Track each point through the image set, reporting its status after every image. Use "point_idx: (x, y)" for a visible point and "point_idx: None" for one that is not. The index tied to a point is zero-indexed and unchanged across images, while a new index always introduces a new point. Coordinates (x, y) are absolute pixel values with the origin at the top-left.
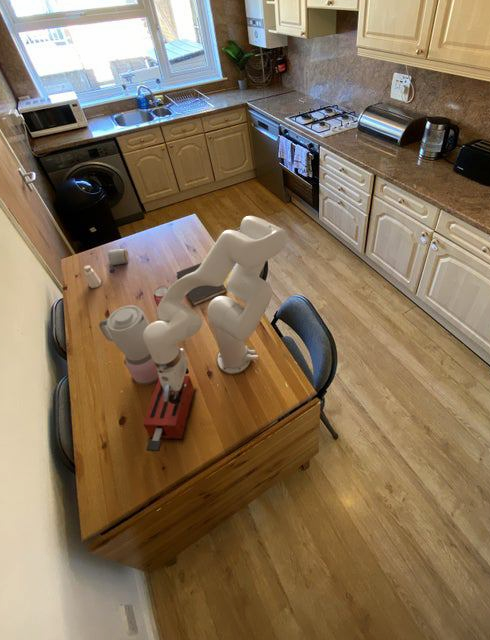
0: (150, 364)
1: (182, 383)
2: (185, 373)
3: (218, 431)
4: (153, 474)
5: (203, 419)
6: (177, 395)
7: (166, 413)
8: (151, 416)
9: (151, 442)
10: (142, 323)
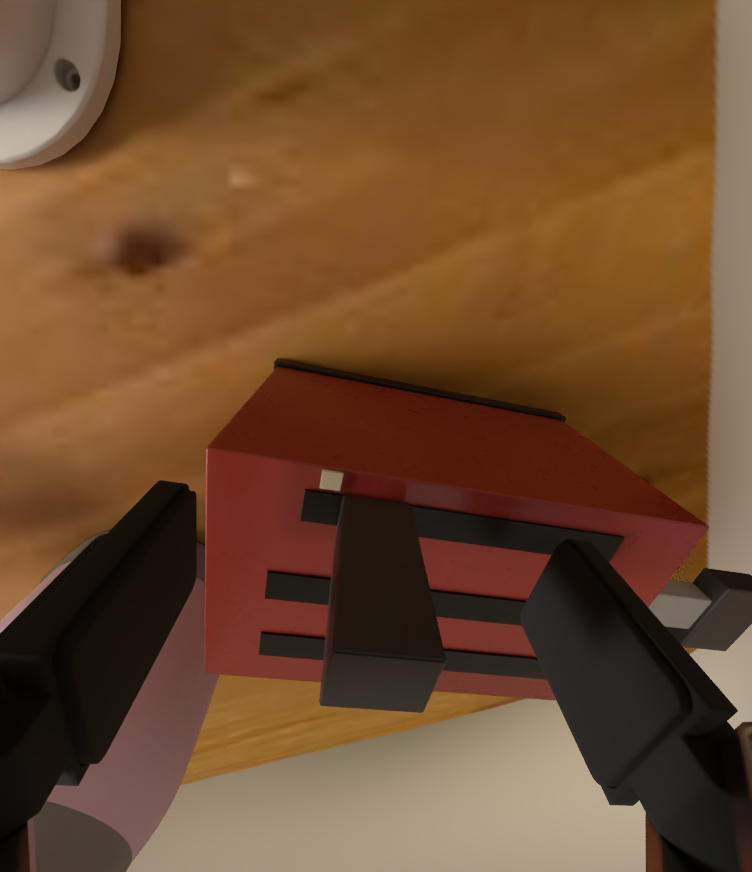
0: (113, 752)
1: (353, 550)
2: (192, 521)
3: (597, 181)
4: None
5: (482, 297)
6: (714, 709)
7: None
8: None
9: (704, 634)
10: None
